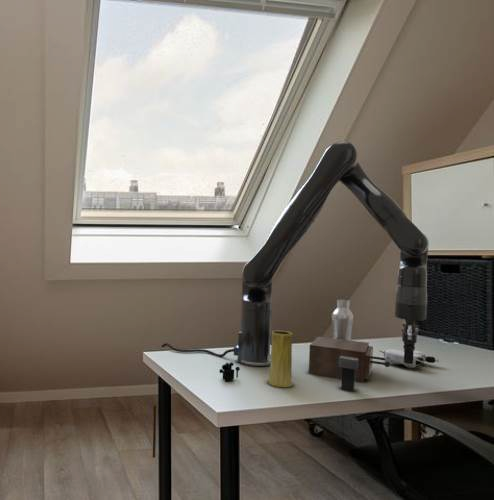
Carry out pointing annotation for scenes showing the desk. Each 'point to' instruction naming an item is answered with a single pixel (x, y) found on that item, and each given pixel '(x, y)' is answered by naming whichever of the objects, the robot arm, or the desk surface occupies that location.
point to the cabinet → (336, 356)
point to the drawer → (369, 361)
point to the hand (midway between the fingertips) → (408, 362)
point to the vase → (281, 359)
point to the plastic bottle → (342, 320)
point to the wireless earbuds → (229, 371)
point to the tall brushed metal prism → (348, 372)
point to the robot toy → (418, 358)
